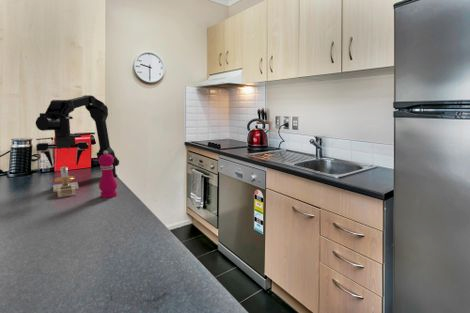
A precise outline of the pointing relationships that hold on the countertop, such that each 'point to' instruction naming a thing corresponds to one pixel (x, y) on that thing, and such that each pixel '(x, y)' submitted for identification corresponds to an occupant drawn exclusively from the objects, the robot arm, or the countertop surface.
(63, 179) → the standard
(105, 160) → the pepper mill
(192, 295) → the countertop surface
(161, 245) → the countertop surface
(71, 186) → the collar
